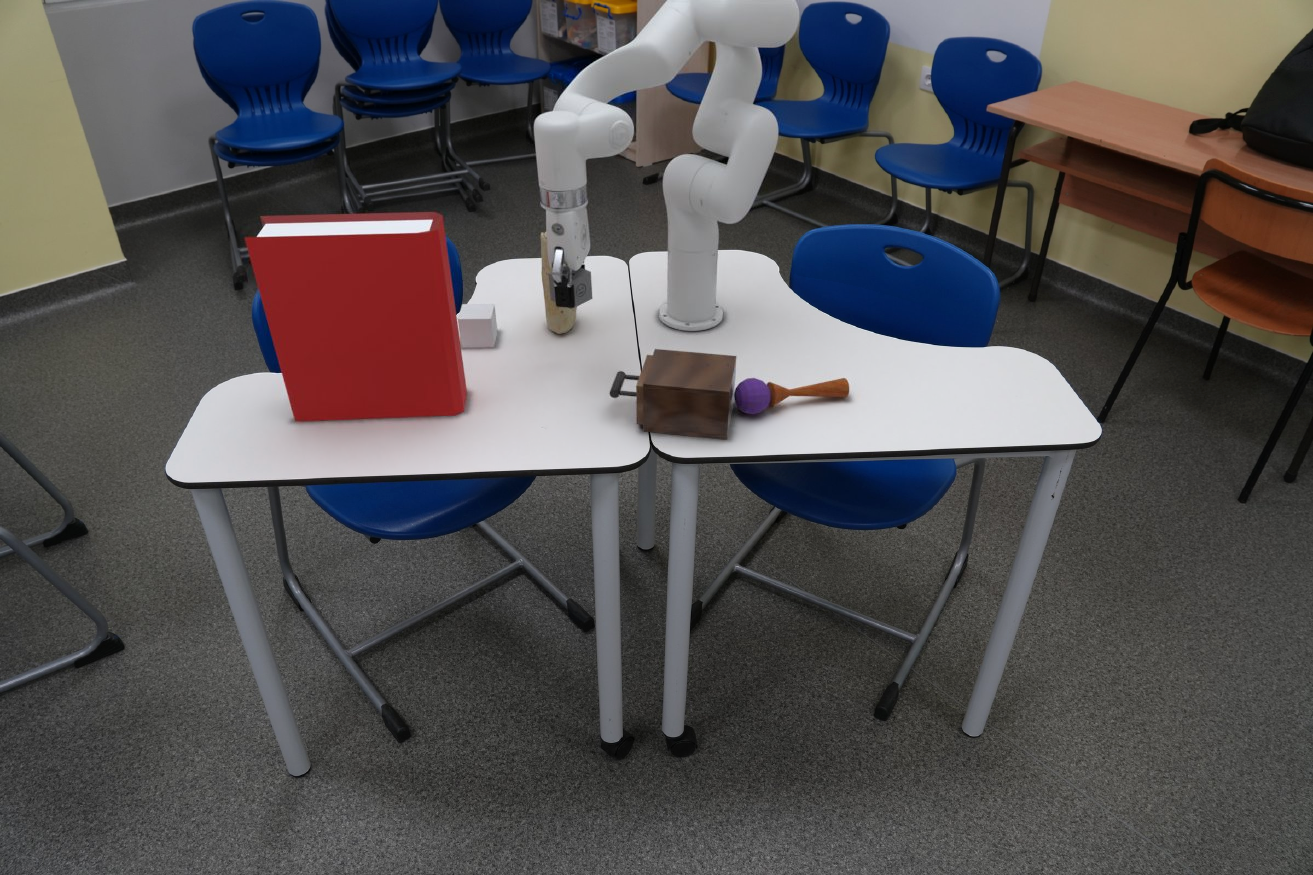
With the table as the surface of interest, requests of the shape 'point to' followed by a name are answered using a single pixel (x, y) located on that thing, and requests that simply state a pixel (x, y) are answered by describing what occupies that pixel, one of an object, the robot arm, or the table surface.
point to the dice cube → (576, 285)
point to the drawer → (638, 394)
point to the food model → (555, 316)
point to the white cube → (477, 325)
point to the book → (361, 314)
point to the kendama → (782, 393)
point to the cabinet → (689, 394)
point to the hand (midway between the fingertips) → (571, 295)
